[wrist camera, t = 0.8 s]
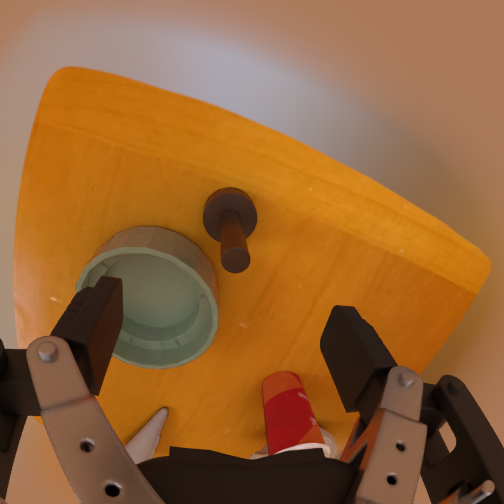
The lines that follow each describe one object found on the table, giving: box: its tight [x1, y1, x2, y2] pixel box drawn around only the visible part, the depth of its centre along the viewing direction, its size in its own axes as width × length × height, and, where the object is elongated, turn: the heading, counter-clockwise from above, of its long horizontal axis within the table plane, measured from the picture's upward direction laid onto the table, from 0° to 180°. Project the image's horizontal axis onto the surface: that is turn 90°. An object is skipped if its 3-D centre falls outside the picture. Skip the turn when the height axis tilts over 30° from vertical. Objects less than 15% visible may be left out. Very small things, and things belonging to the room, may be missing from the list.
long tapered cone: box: [124, 408, 168, 464], centre depth 44 cm, size 6×6×19 cm
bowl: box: [75, 227, 219, 369], centre depth 31 cm, size 15×15×6 cm
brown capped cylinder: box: [203, 187, 257, 273], centre depth 26 cm, size 5×5×11 cm
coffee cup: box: [262, 372, 330, 458], centre depth 36 cm, size 8×8×15 cm
